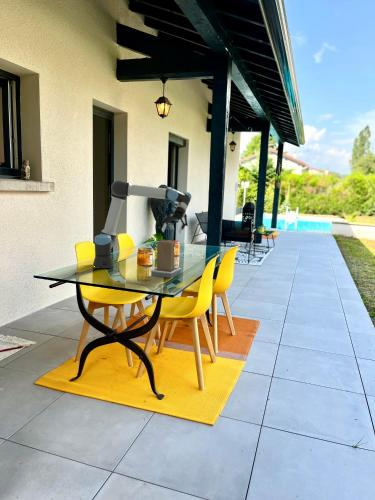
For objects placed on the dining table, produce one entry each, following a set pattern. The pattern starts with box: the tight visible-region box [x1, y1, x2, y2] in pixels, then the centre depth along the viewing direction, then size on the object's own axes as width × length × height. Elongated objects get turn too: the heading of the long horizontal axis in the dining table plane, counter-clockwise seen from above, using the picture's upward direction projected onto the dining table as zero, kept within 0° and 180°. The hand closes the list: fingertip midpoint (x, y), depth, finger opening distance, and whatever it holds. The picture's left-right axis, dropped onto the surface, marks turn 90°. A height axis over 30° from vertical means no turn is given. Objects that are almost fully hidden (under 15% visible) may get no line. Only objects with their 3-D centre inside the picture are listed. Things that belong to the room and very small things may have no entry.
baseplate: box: [150, 266, 182, 279], centre depth 257 cm, size 15×15×4 cm
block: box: [156, 239, 175, 272], centre depth 255 cm, size 10×10×20 cm
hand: (170, 231), depth 268 cm, fingers open, 13 cm apart
